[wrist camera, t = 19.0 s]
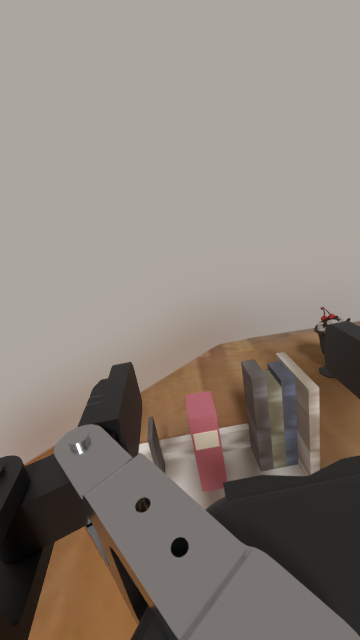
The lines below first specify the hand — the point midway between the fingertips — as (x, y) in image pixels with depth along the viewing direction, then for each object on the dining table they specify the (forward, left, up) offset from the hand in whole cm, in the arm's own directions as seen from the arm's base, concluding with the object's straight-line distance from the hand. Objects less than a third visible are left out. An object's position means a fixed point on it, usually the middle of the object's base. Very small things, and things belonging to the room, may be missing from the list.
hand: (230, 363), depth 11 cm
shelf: (+4, -19, -30) cm, 36 cm away
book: (+4, -20, -29) cm, 35 cm away
